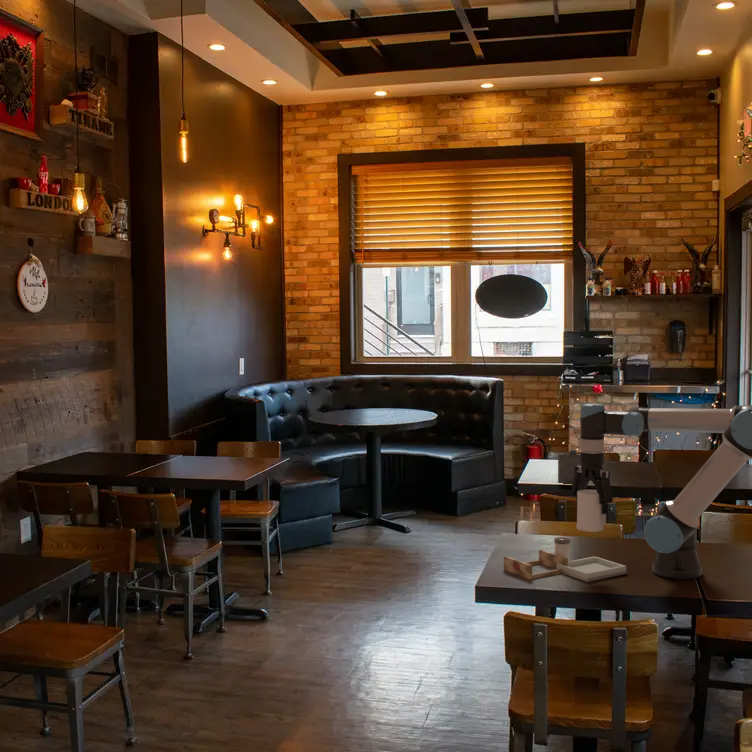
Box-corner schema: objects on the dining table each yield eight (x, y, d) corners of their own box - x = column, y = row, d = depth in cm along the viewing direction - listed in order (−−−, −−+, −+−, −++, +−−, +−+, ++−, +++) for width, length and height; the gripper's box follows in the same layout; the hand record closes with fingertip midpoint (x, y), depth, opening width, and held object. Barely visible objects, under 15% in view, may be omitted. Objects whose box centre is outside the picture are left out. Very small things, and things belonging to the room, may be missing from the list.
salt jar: (573, 566, 299) (573, 539, 299) (561, 568, 297) (561, 541, 296) (562, 562, 304) (562, 536, 303) (551, 564, 301) (551, 538, 301)
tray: (626, 573, 291) (626, 566, 290) (587, 581, 282) (587, 574, 282) (595, 563, 303) (595, 556, 302) (556, 571, 294) (556, 563, 294)
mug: (579, 522, 299) (579, 486, 298) (605, 524, 296) (605, 488, 295) (574, 530, 288) (575, 493, 287) (602, 532, 285) (602, 495, 284)
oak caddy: (567, 571, 293) (567, 558, 293) (529, 579, 285) (529, 565, 285) (541, 562, 304) (541, 549, 304) (503, 569, 296) (503, 556, 296)
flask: (588, 487, 437) (588, 450, 435) (557, 486, 440) (558, 449, 438) (587, 485, 440) (588, 449, 439) (557, 485, 443) (558, 448, 442)
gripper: (625, 455, 282) (624, 525, 284) (577, 446, 301) (576, 513, 302) (608, 457, 278) (607, 528, 280) (560, 448, 297) (559, 515, 299)
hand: (591, 520), depth 291 cm, fingers closed on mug, 9 cm apart
